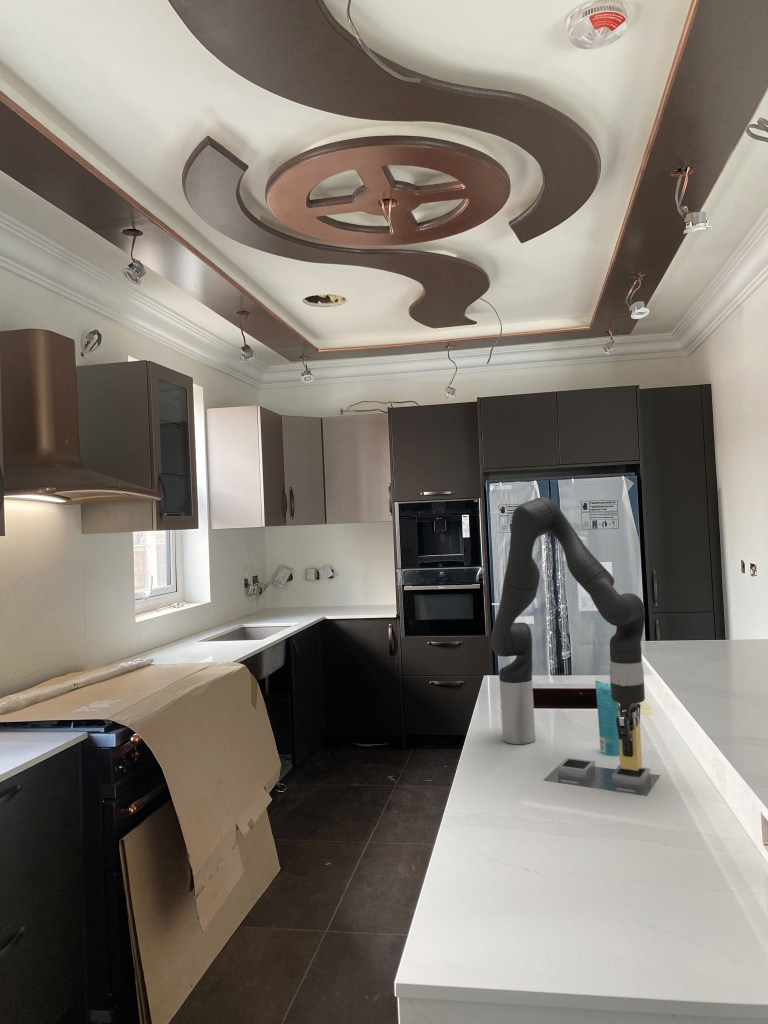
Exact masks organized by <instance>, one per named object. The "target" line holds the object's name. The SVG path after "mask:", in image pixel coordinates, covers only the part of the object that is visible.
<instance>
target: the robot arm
mask: <svg viewBox="0 0 768 1024" xmlns="http://www.w3.org/2000/svg"><path fill="white" fill-rule="evenodd" d="M510 525H511V526H510V538H509V539H510V540H509V541H510V542H509V550H508V551H509V552H508V556H507V557H508V558H507V563H506V570H505V572H504V577H503V584H502V589H501V590H502V591H501V598H500V602H499V607H498V610H497V614H496V616H495V617H496V618H495V621H494V625H493V627H492V631H491V639H490V641H491V642H490V644H491V650H492V651H493V652H494V654H495V655H496V656H497V657H502V658H503V657H504V658H505V657H506V658H507V657H515V659H514V660H513V661H512V662H510V663H509V664H507V665H505V666H503V667H502V668H500V669H499V671H498V677H499V679H498V681H499V693H500V694H499V695H500V697H499V698H500V711H501V712H500V716H501V733H502V734H501V735H502V741H503V742H505V743H507V744H513V745H526V744H530V743H534V742H535V740H536V727H535V710H534V709H535V708H534V707H535V705H534V691H533V688H534V687H533V638H532V637H533V635H532V630H531V627H530V626H529V624H528V623H527V622H515V621H516V619H517V618H518V617H519V616H520V615H521V614H522V613H523V612H524V611H526V609H527V608H528V607H529V606H530V605H532V604H533V602H534V600H535V599H536V597H537V593H538V589H539V585H540V578H541V575H540V574H541V573H540V569H539V567H538V565H537V563H536V562H535V559H534V558H533V551H534V546H535V542H536V540H537V539H538V538H539V537H541V536H544V535H546V534H548V533H549V534H551V535H552V536H553V537H554V538H555V539H556V540H557V541H558V542H559V544H560V545H561V548H562V550H563V553H564V557H565V561H566V565H567V568H568V570H569V573H570V574H571V575H572V578H574V579H575V580H576V581H577V584H579V585H580V586H581V587H582V588H583V590H585V592H586V593H587V594H588V595H589V596H590V599H591V601H592V603H593V604H594V606H595V607H596V609H597V611H598V612H599V614H600V616H601V617H602V619H604V621H606V622H607V623H609V624H610V625H612V626H613V627H616V630H615V633H614V635H613V636H611V638H610V640H609V658H610V661H609V665H610V666H609V678H610V679H609V681H610V682H609V684H610V686H611V699H612V700H613V701H615V702H618V705H619V708H618V716H619V717H616V723H617V730H618V738H619V740H622V747H623V755H624V756H626V757H632V756H633V741H632V740H633V731H634V730H635V721H636V723H640V724H641V707H642V705H641V703H642V702H644V701H645V699H646V697H645V672H644V667H643V666H644V665H643V656H642V655H643V654H642V643H641V642H642V638H643V633H644V628H645V619H646V610H645V609H646V608H645V605H644V602H643V601H642V599H641V597H639V595H637V594H635V593H630V592H627V593H621V594H620V593H619V592H617V590H616V589H615V587H614V586H615V578H614V577H613V576H612V574H611V573H610V571H608V570H607V569H606V567H604V565H603V564H602V563H601V562H600V560H599V561H598V559H597V558H596V557H595V556H594V555H593V553H591V551H590V550H589V548H587V547H586V545H585V544H584V541H582V540H581V538H580V536H579V534H577V532H576V530H575V529H574V528H573V526H572V524H571V523H570V521H569V520H568V519H567V517H566V515H565V514H564V513H563V512H562V510H561V509H560V508H559V507H558V505H557V504H556V502H554V501H553V500H552V499H551V498H548V497H545V496H542V497H537V498H534V499H531V500H529V501H526V502H524V503H520V504H519V505H517V507H516V508H515V509H514V510H513V512H512V516H511V524H510ZM629 725H632V726H631V727H629ZM624 732H626V733H627V735H624Z"/></svg>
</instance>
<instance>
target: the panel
mask: <svg viewBox="0 0 768 1024" xmlns="http://www.w3.org/2000/svg"><path fill="white" fill-rule="evenodd" d="M660 777H661V774H653V773H651V769H650V768H649V767H642V766H641V767H640V769H639V770H638V771H636V770H629V769H621V768H620V764H619V765H618V766H617V767H616V768H615V769H614V768H609V767H603V766H596V762H595V761H594V760H587V759H580V758H571V757H566V758H564V760H563V761H562V762H560V763H559V764H558V766H556V767H555V768H554V769H553V770H552V771H551V772H550V773H549V774H548V775H547V776H546V777H545V778H544V779H543V780H542V781H544V782H548V783H549V782H550V783H555V784H556V783H557V784H563V785H570V786H577V787H584V788H590V789H597V790H603V791H611V792H616V793H624V794H630V795H638V796H642V797H648V795H649V794H650V793H651V791H652V789H653V787H654V786H655V784H656V783H657V782H658V780H659V778H660Z"/></svg>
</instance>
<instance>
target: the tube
mask: <svg viewBox="0 0 768 1024" xmlns="http://www.w3.org/2000/svg"><path fill="white" fill-rule="evenodd" d="M594 683H595V693H596V705H597V706H596V707H597V717H598V718H597V720H598V729H599V730H598V732H599V748H600V754H602V755H605V756H612V757H614V756H620V751H619V738H618V730H617V723H616V717H619V716H618V709H619V703H618V702H615V701H613V700H612V699H611V686H610V682H609V683H608V682H604V681H599V680H595V682H594Z"/></svg>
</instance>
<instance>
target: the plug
mask: <svg viewBox="0 0 768 1024" xmlns="http://www.w3.org/2000/svg"><path fill="white" fill-rule="evenodd" d="M631 726H632V725H629V727H631ZM624 735H627V733H626V732H624ZM632 741H633V756H632V757H626V756H624V755H623V747H622V740H619V751H620V754H619V765H620V768H621V769H629V770H636V771H638V770H639V769H640V767H642V766H643V760H642V759H643V758H642V739H641V722H640V723H636V720H635V730H634V731H633V740H632Z"/></svg>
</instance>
